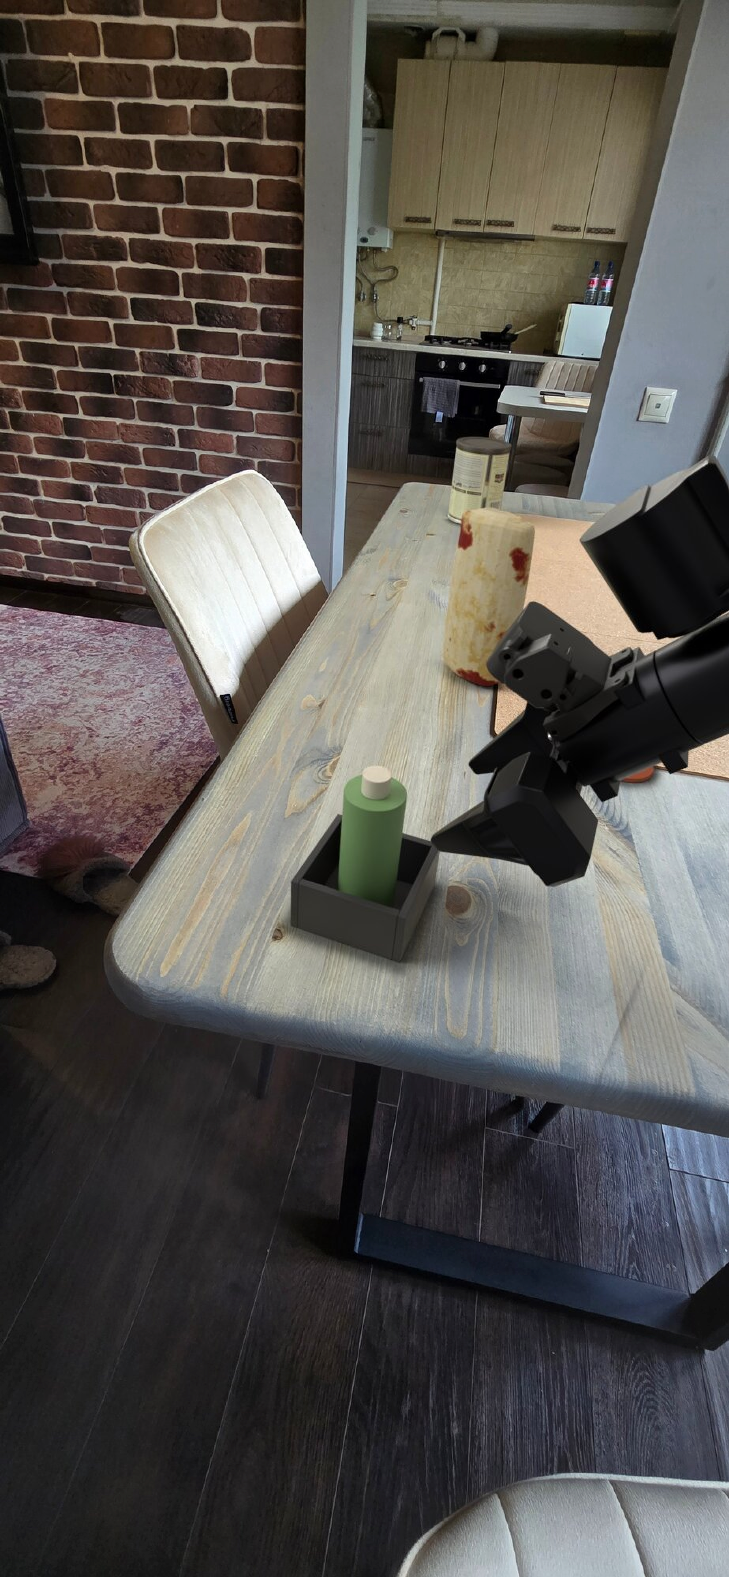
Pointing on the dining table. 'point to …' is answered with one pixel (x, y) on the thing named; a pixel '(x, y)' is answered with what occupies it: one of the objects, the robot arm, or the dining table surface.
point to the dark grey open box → (357, 917)
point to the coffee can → (478, 475)
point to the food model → (485, 589)
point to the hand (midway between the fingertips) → (454, 803)
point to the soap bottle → (371, 835)
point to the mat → (640, 776)
